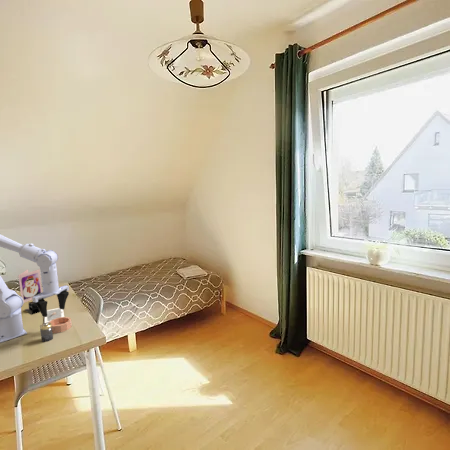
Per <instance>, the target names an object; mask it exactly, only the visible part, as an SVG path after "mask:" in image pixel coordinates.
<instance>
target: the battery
mask: <svg viewBox="0 0 450 450" xmlns="http://www.w3.org/2000/svg"><path fill="white" fill-rule="evenodd" d="M39 329H40V337H41V342H42V343H46V342H50V341H52V340H53V339H54V333H53V332H52V324H51V323H49V322H47V323H45V322H44V323H42V324H40V326H39Z"/></svg>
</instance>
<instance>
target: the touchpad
mask: <svg viewBox="0 0 450 450" xmlns="http://www.w3.org/2000/svg"><path fill="white" fill-rule="evenodd" d="M60 317H65V312H64V309H63V310H62V309H60V308H59V307H56V308H52V309H47V317H44V323H49V322H50V321H51V320H53V319H56V318H60Z"/></svg>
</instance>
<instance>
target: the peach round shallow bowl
mask: <svg viewBox="0 0 450 450" xmlns="http://www.w3.org/2000/svg"><path fill="white" fill-rule="evenodd" d="M48 323H51V324H52V332H53V334H57V333H59V334H60V333H63V332H67V331H68V330H70V329H71V328H72V326H73V325H72V318H71V317H69V316H64V317H60V318H56V319H53V320H51V321H50V322H48Z"/></svg>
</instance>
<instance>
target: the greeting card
mask: <svg viewBox="0 0 450 450" xmlns="http://www.w3.org/2000/svg"><path fill="white" fill-rule="evenodd" d="M18 282H19V289H20V296H21V297H22V299H23V301H24V303H27V302H29V301H30V302H31V301H33V300H32V297H34V296H36V295H38V294H40V293H42V292H43V287H42V278H41V271H40V268H39V269H36V270H33V271H29V269H26V270H25V271H23V272H21V273H20V274H18ZM24 303H23V304H24Z"/></svg>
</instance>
